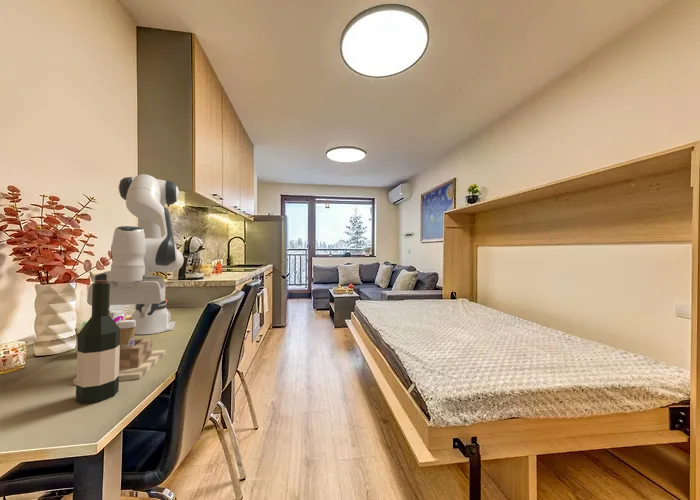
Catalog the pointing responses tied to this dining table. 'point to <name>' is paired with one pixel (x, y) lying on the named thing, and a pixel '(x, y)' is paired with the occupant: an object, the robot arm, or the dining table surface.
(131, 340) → the sprinkles bottle
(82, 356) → the wine bottle
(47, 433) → the dining table surface
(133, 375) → the holder board
